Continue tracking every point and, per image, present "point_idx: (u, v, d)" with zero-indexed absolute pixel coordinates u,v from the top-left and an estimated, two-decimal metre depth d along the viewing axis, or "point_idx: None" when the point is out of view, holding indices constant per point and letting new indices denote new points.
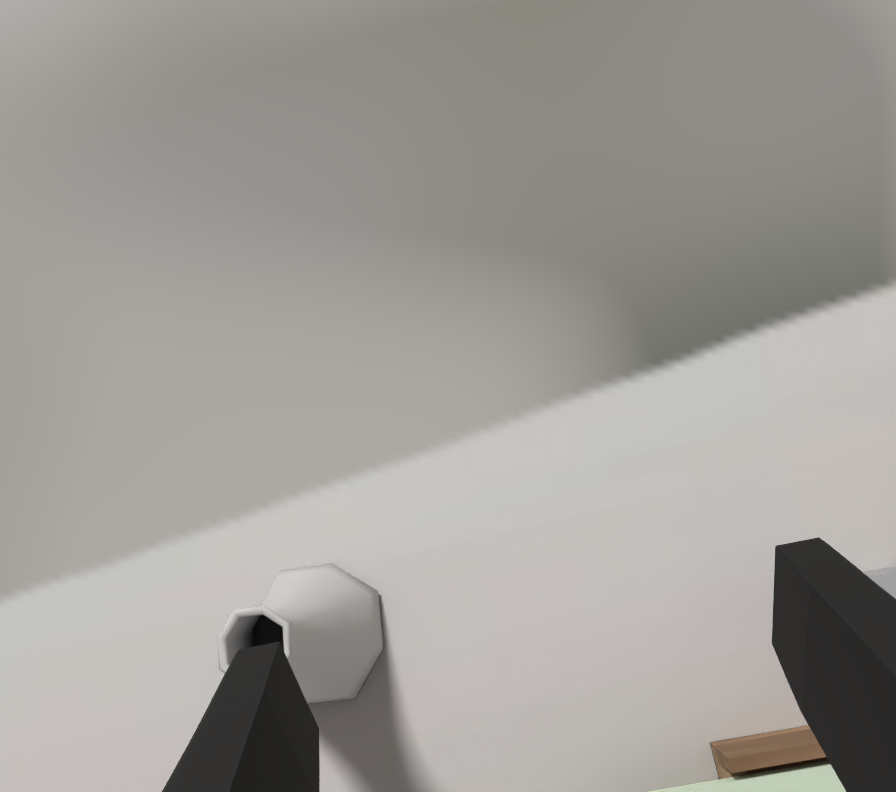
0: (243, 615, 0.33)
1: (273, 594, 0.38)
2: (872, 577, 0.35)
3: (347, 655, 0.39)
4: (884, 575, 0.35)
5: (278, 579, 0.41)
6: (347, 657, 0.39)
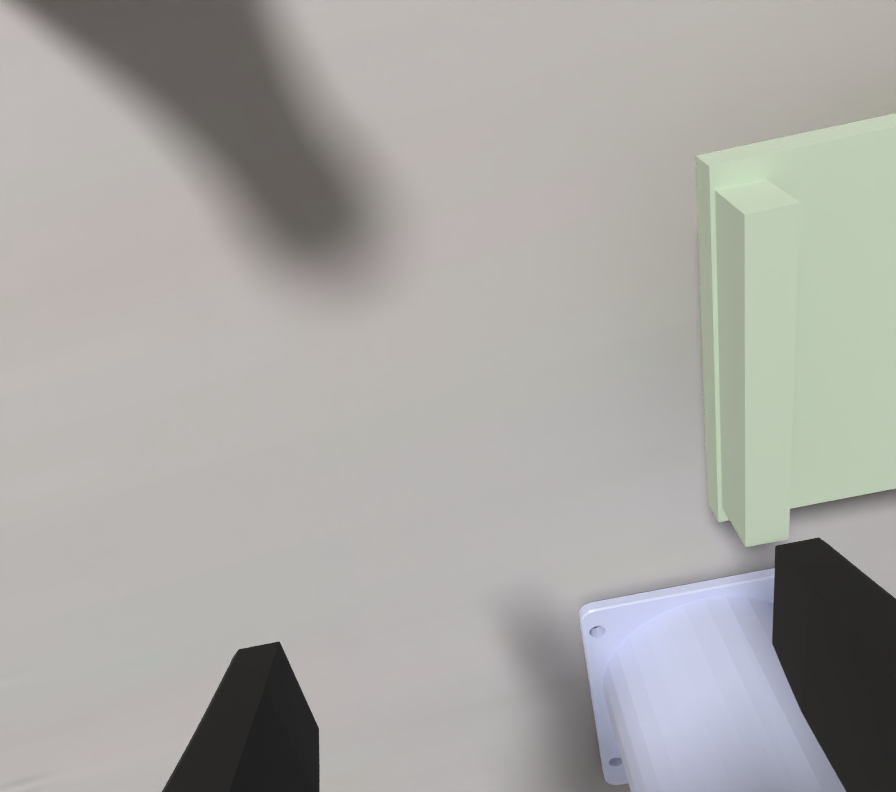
0: None
1: None
2: None
3: None
4: None
5: None
6: None
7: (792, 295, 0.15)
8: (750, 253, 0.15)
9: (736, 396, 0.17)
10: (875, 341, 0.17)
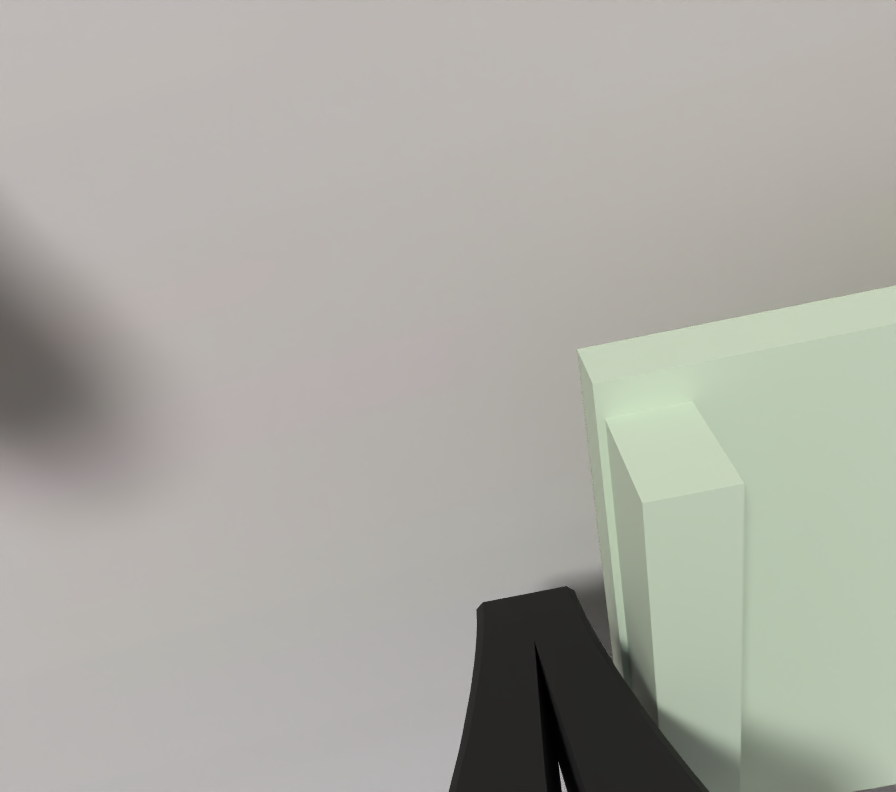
0: None
1: None
2: None
3: None
4: None
5: None
6: None
7: (733, 612, 0.09)
8: (658, 558, 0.08)
9: None
10: (874, 614, 0.11)
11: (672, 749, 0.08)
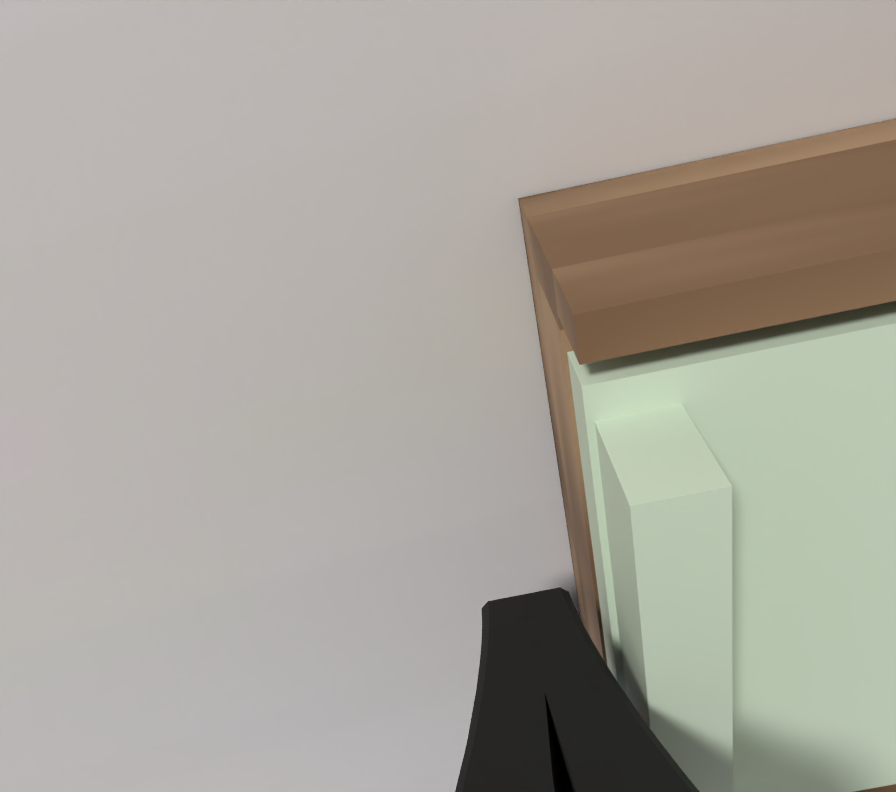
0: None
1: None
2: None
3: None
4: None
5: None
6: None
7: (723, 614, 0.09)
8: (647, 561, 0.08)
9: None
10: (866, 616, 0.11)
11: (664, 750, 0.08)
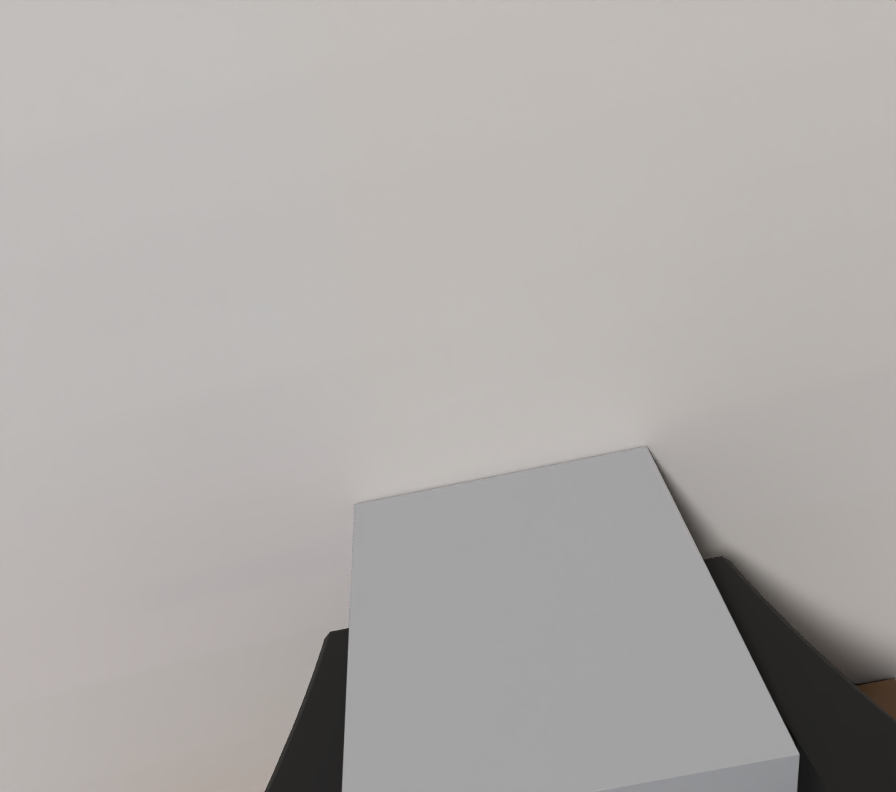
0: None
1: None
2: None
3: None
4: None
5: None
6: None
7: None
8: None
9: None
10: None
11: (883, 710, 0.08)
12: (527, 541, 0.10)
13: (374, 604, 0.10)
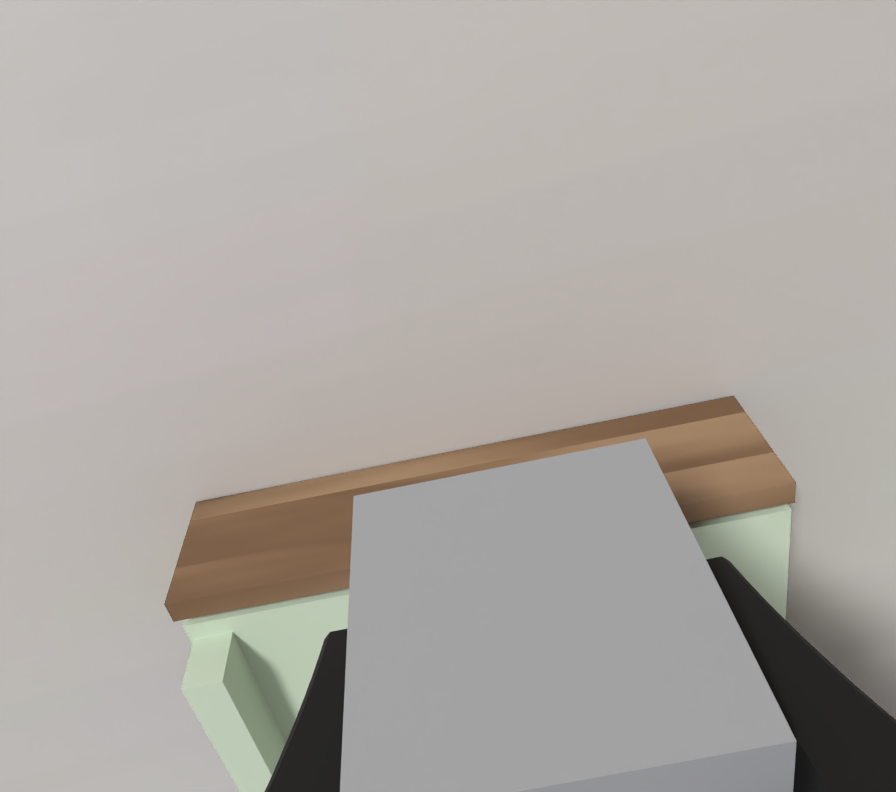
0: None
1: None
2: None
3: None
4: (553, 786, 0.08)
5: None
6: None
7: (243, 729, 0.19)
8: (197, 709, 0.19)
9: None
10: None
11: (883, 710, 0.08)
12: (526, 533, 0.10)
13: (373, 594, 0.10)
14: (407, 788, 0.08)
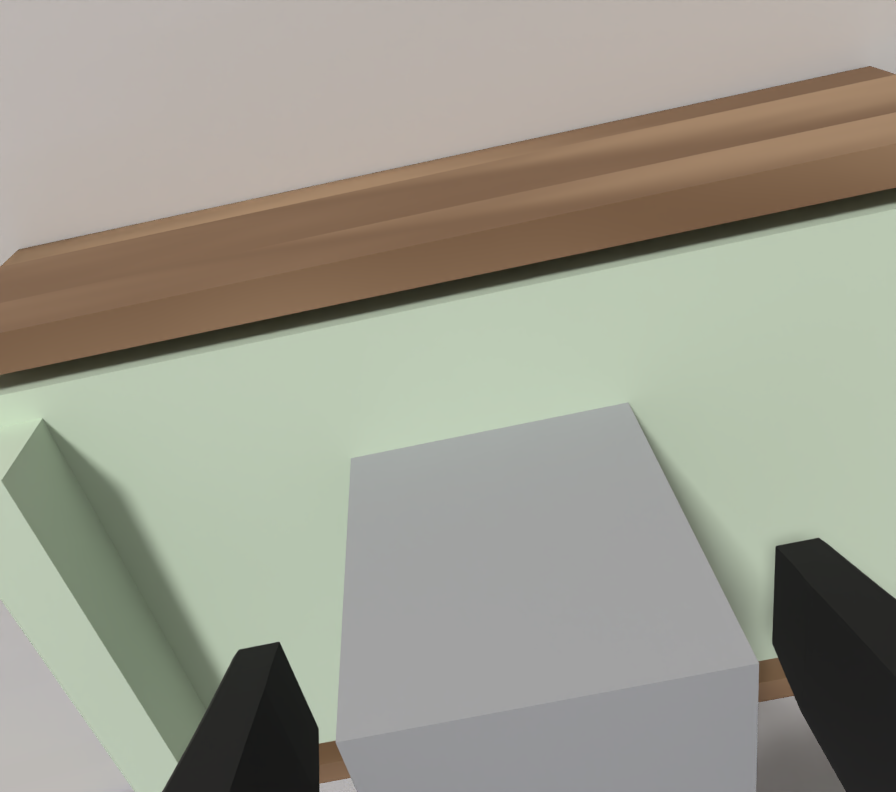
0: None
1: None
2: (484, 716, 0.08)
3: None
4: (534, 706, 0.08)
5: None
6: None
7: (56, 578, 0.11)
8: None
9: None
10: (287, 586, 0.14)
11: None
12: (513, 488, 0.11)
13: (369, 544, 0.11)
14: (399, 710, 0.08)
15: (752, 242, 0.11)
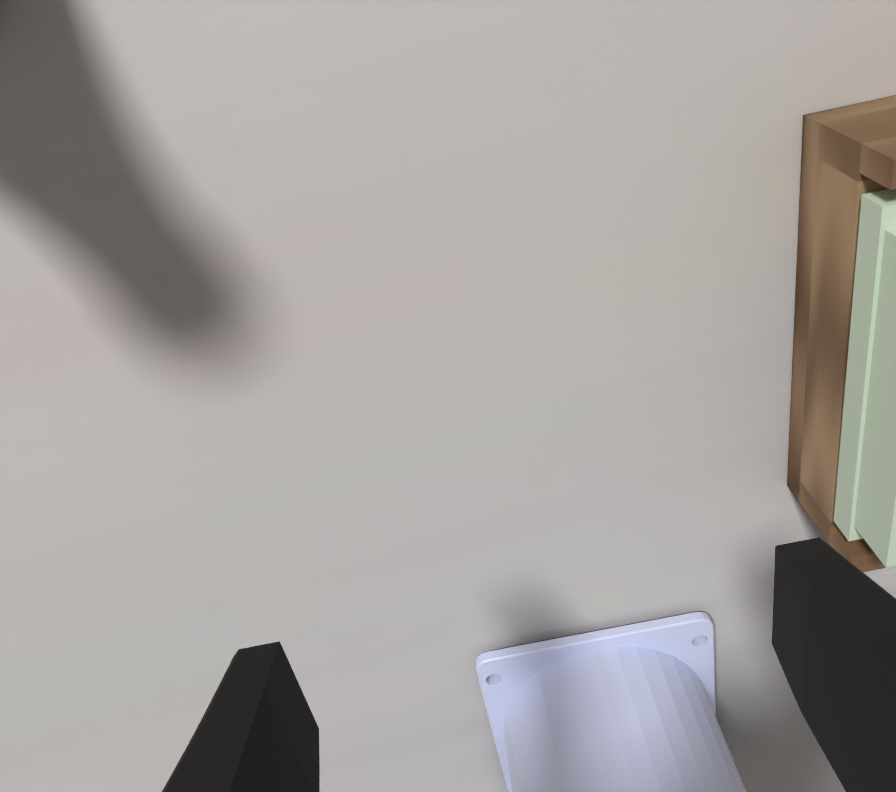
0: None
1: None
2: None
3: None
4: None
5: None
6: None
7: None
8: None
9: (890, 426, 0.17)
10: None
11: None
12: None
13: None
14: None
15: None
